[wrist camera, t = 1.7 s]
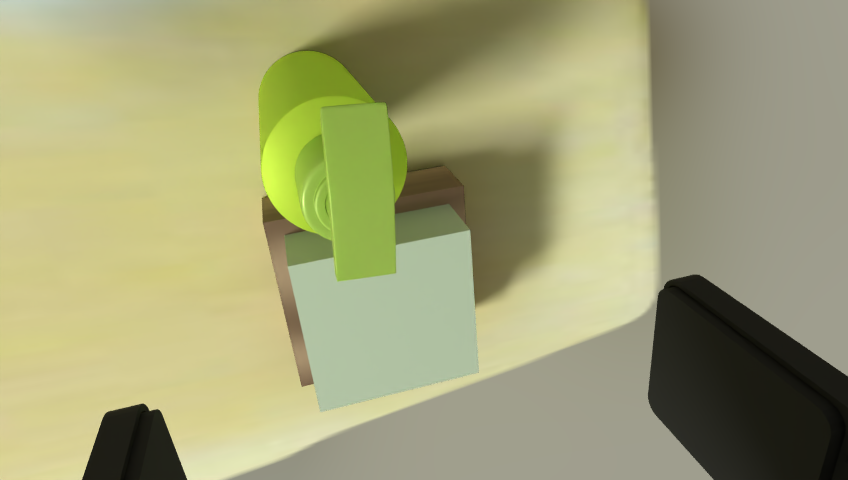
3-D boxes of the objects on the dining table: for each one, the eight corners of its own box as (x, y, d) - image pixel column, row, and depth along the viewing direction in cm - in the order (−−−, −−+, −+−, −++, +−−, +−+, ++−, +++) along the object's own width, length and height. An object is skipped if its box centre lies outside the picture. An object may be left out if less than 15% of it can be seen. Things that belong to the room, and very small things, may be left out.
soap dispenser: (353, 29, 34) (460, 100, 16) (361, 144, 37) (458, 309, 19) (248, 34, 33) (243, 116, 15) (265, 153, 36) (277, 338, 18)
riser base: (262, 197, 37) (262, 222, 33) (444, 165, 39) (463, 185, 35) (297, 351, 42) (301, 386, 38) (456, 315, 44) (473, 345, 41)
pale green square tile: (284, 235, 34) (287, 266, 30) (449, 203, 36) (470, 230, 32) (314, 371, 38) (320, 412, 35) (459, 336, 40) (478, 372, 37)
